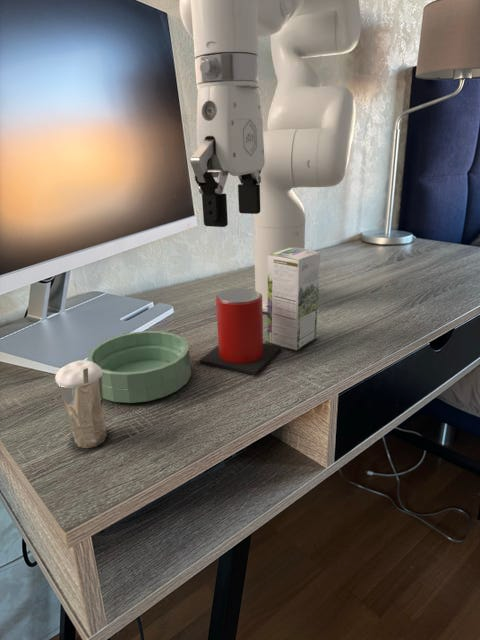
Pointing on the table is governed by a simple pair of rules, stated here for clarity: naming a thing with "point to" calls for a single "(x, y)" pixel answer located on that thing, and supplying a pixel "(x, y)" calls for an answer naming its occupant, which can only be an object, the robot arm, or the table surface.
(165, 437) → the table surface
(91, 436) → the milkshake
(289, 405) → the table surface
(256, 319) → the can
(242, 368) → the coaster
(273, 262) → the syrup box
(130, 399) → the dish
